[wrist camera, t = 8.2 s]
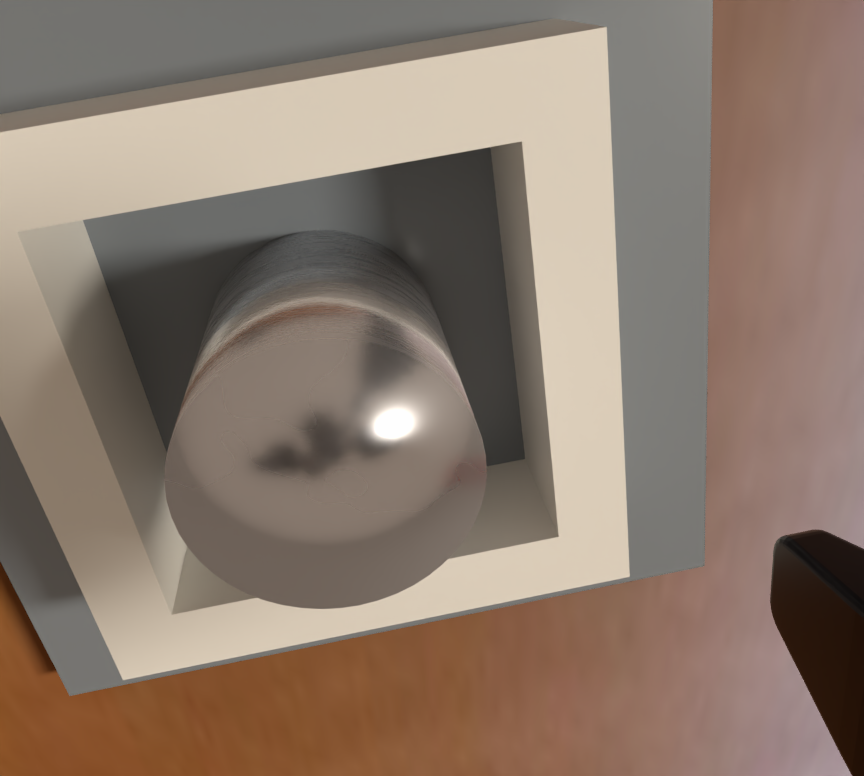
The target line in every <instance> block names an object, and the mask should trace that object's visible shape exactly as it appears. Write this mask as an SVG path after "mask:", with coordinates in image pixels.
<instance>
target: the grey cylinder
mask: <svg viewBox="0 0 864 776" xmlns="http://www.w3.org/2000/svg"><path fill="white" fill-rule="evenodd" d="M486 477H487V465H486V453H485V449H484V444H483V439H482V436H481V433H480V431H479V428H478V425H477V422H476V420H475V417H474V414H473V412H472V409H471V406H470V403H469V401H468V398H467V395H466V393H465V390H464V387H463V384H462V382H461V379H460V376H459V374H458V371H457V368H456V365H455V363H454V360H453V357H452V355H451V352H450V349H449V346H448V344H447V341H446V338H445V336H444V333H443V330H442V327H441V325H440V322H439V319H438V316H437V314H436V311H435V308H434V306H433V303H432V300H431V298H430V295H429V293H428V291H427V289H426V288H425V286H424V284H423V282H422V281H421V279H420V278H419V277H418V275H417V274H416V273H415V271H414V270H413V269H412V268H411V267H410V266H409V265H408V264H407V263H406V262H405V261H404V260H403V259H402V258H401V257H399V256H398V255H397V254H395V253H394V252H393V251H391V250H390V249H388V248H386V247H385V246H383V245H381V244H380V243H378V242H375V241H373V240H371V239H368V238H366V237H364V236H360V235H356V234H353V233H349V232H343V231H336V230H311V231H302V232H297V233H293V234H289V235H285V236H283V237H280V238H278V239H275V240H273V241H270V242H268V243H267V244H265V245H263V246H261V247H259V248H258V249H256V250H255V251H253V252H252V253H251V254H249V255H248V256H247V257H245V258H244V259H243V260H242V261H241V262H240V263H239V264H238V265H237V266H236V267H235V268H234V269H233V271H232V272H231V273H230V274H229V276H228V277H227V278H226V280H225V281H224V283H223V285H222V287H221V289H220V290H219V292H218V294H217V297H216V300H215V302H214V305H213V308H212V311H211V314H210V317H209V320H208V323H207V327H206V330H205V333H204V336H203V339H202V342H201V345H200V349H199V352H198V355H197V358H196V361H195V364H194V367H193V371H192V374H191V377H190V380H189V383H188V386H187V390H186V393H185V396H184V399H183V402H182V405H181V408H180V412H179V415H178V418H177V421H176V424H175V427H174V430H173V434H172V437H171V440H170V443H169V447H168V452H167V456H166V461H165V475H164V484H165V493H166V500H167V504H168V507H169V511H170V514H171V518H172V520H173V522H174V524H175V526H176V529H177V531H178V533H179V535H180V536H181V538H182V539H183V541H184V542H185V544H186V545H187V547H188V548H189V550H190V551H191V552H192V553H193V554H194V555H195V556H196V558H197V559H198V560H199V561H200V562H201V563H202V564H203V565H204V566H205V567H207V568H208V569H209V570H210V571H211V572H212V573H213V574H215V575H216V576H217V577H219V578H220V579H222V580H223V581H225V582H226V583H228V584H229V585H231V586H233V587H235V588H237V589H239V590H241V591H243V592H245V593H246V594H249V595H252V596H254V597H257V598H260V599H262V600H265V601H269V602H273V603H276V604H280V605H285V606H291V607H298V608H309V609H334V608H345V607H351V606H358V605H363V604H367V603H370V602H374V601H378V600H381V599H384V598H386V597H389V596H392V595H394V594H397V593H399V592H401V591H403V590H405V589H407V588H409V587H411V586H413V585H415V584H416V583H418V582H419V581H421V580H423V579H424V578H426V577H427V576H429V575H430V574H431V573H433V572H434V571H435V570H436V569H437V568H439V567H440V566H441V565H442V564H444V562H445V561H446V560H447V559H448V558H449V557H450V556H451V555H452V554H453V553H454V552H455V551H456V550H457V549H458V547H459V546H460V545H461V543H462V542H463V541H464V539H465V538H466V537H467V535H468V533H469V531H470V530H471V528H472V526H473V524H474V523H475V520H476V518H477V515H478V513H479V510H480V508H481V505H482V501H483V497H484V493H485V488H486Z"/></svg>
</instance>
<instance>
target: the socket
mask: <svg viewBox="0 0 864 776" xmlns="http://www.w3.org/2000/svg"><path fill="white" fill-rule="evenodd" d="M712 26H713V0H0V562H1V564H2V566H3V567H4V569H5V571H6V573H7V575H8V577H9V579H10V581H11V583H12V585H13V587H14V589H15V591H16V593H17V595H18V597H19V598H20V600H21V602H22V604H23V606H24V608H25V610H26V612H27V614H28V616H29V618H30V620H31V622H32V624H33V626H34V628H35V630H36V631H37V633H38V635H39V637H40V639H41V641H42V643H43V645H44V647H45V649H46V651H47V653H48V655H49V657H50V659H51V661H52V662H53V664H54V666H55V668H56V670H57V672H58V674H59V676H60V678H61V680H62V682H63V684H64V686H65V688H66V690H67V692H68V693H69V695H70V696H71V695H76V694H81V693H86V692H91V691H96V690H101V689H106V688H111V687H115V686H120V685H125V684H130V683H135V682H140V681H145V680H150V679H155V678H159V677H164V676H169V675H174V674H179V673H184V672H189V671H194V670H199V669H203V668H208V667H213V666H218V665H223V664H228V663H233V662H238V661H243V660H247V659H252V658H257V657H262V656H267V655H272V654H277V653H282V652H287V651H291V650H296V649H301V648H306V647H311V646H316V645H321V644H326V643H331V642H335V641H340V640H345V639H350V638H355V637H360V636H365V635H370V634H375V633H379V632H384V631H389V630H394V629H399V628H404V627H409V626H414V625H419V624H423V623H428V622H433V621H438V620H443V619H448V618H453V617H458V616H463V615H467V614H472V613H477V612H482V611H487V610H492V609H497V608H502V607H507V606H511V605H516V604H521V603H526V602H531V601H536V600H541V599H546V598H551V597H555V596H560V595H565V594H570V593H575V592H580V591H585V590H590V589H595V588H599V587H604V586H609V585H614V584H619V583H624V582H629V581H634V580H639V579H643V578H648V577H653V576H658V575H663V574H668V573H673V572H678V571H683V570H687V569H692V568H697V567H702V566H704V561H705V494H706V427H707V360H708V293H709V226H710V159H711V93H712ZM311 230H336V231H343V232H349V233H353V234H356V235H360V236H364V237H366V238H368V239H371V240H373V241H375V242H378V243H380V244H381V245H383V246H385V247H386V248H388V249H390V250H391V251H393V252H394V253H395V254H397V255H398V256H399V257H401V258H402V259H403V260H404V261H405V262H406V263H407V264H408V265H409V266H410V267H411V268H412V269H413V270H414V271H415V273H416V274H417V275H418V277H419V278H420V279H421V281H422V282H423V284H424V286H425V288H426V289H427V291H428V293H429V295H430V298H431V300H432V303H433V306H434V308H435V311H436V314H437V316H438V319H439V322H440V325H441V327H442V330H443V333H444V336H445V338H446V341H447V344H448V346H449V349H450V352H451V355H452V357H453V360H454V363H455V365H456V368H457V371H458V374H459V376H460V379H461V382H462V384H463V387H464V390H465V393H466V395H467V398H468V401H469V403H470V406H471V409H472V412H473V414H474V417H475V420H476V422H477V425H478V428H479V431H480V433H481V436H482V439H483V444H484V449H485V453H486V465H487V477H486V488H485V493H484V497H483V501H482V505H481V508H480V510H479V513H478V515H477V518H476V520H475V523H474V524H473V526H472V528H471V530H470V531H469V533H468V535H467V537H466V538H465V539H464V541H463V542H462V543H461V545H460V546H459V547H458V549H457V550H456V551H455V552H454V553H453V554H452V555H451V556H450V557H449V558H448V559H447V560H446V561H445V562H444V564H442V565H441V566H440V567H439V568H437V569H436V570H435V571H434V572H433V573H431V574H430V575H429V576H427V577H426V578H424V579H423V580H421V581H419V582H418V583H416V584H415V585H413V586H411V587H409V588H407V589H405V590H403V591H401V592H399V593H397V594H394V595H392V596H389V597H386V598H384V599H381V600H378V601H374V602H370V603H367V604H363V605H358V606H351V607H345V608H334V609H309V608H298V607H291V606H285V605H280V604H276V603H273V602H269V601H265V600H262V599H260V598H257V597H254V596H252V595H249V594H246V593H245V592H243V591H241V590H239V589H237V588H235V587H233V586H231V585H229V584H228V583H226V582H225V581H223V580H222V579H220V578H219V577H217V576H216V575H215V574H213V573H212V572H211V571H210V570H209V569H208V568H207V567H205V566H204V565H203V564H202V563H201V562H200V561H199V560H198V559H197V558H196V556H195V555H194V554H193V553H192V552H191V551H190V550H189V548H188V547H187V545H186V544H185V542H184V541H183V539H182V538H181V536H180V535H179V533H178V531H177V529H176V526H175V524H174V522H173V520H172V518H171V514H170V511H169V507H168V504H167V500H166V493H165V484H164V475H165V461H166V456H167V452H168V447H169V443H170V440H171V437H172V434H173V430H174V427H175V424H176V421H177V418H178V415H179V412H180V408H181V405H182V402H183V399H184V396H185V393H186V390H187V386H188V383H189V380H190V377H191V374H192V371H193V367H194V364H195V361H196V358H197V355H198V352H199V349H200V345H201V342H202V339H203V336H204V333H205V330H206V327H207V323H208V320H209V317H210V314H211V311H212V308H213V305H214V302H215V300H216V297H217V294H218V292H219V290H220V289H221V287H222V285H223V283H224V281H225V280H226V278H227V277H228V276H229V274H230V273H231V272H232V271H233V269H234V268H235V267H236V266H237V265H238V264H239V263H240V262H241V261H242V260H243V259H244V258H245V257H247V256H248V255H249V254H251V253H252V252H253V251H255V250H256V249H258V248H259V247H261V246H263V245H265V244H267V243H268V242H270V241H273V240H275V239H278V238H280V237H283V236H285V235H289V234H293V233H297V232H302V231H311Z"/></svg>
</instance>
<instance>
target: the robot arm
mask: <svg viewBox="0 0 864 776" xmlns="http://www.w3.org/2000/svg"><path fill="white" fill-rule="evenodd" d="M770 603H771V610H772V615H773V618H774V621H775V624H776V626H777V628H778V630H779V632H780V634H781V636H782V638H783V640H784V642H785V644H786V646H787V648H788V650H789V652H790V654H791V656H792V658H793V660H794V662H795V664H796V666H797V668H798V670H799V672H800V674H801V676H802V678H803V680H804V682H805V684H806V686H807V688H808V690H809V692H810V694H811V696H812V698H813V700H814V702H815V704H816V706H817V708H818V710H819V712H820V714H821V716H822V718H823V720H824V722H825V724H826V726H827V728H828V730H829V732H830V734H831V736H832V738H833V740H834V742H835V744H836V746H837V748H838V750H839V752H840V754H841V756H842V757H843V759H844V761H845V763H846V765H847V767H848V769H849V771H850V773H851V774H852V776H864V549H863V548H861V547H858V546H856V545H854V544H852V543H850V542H848V541H846V540H843V539H841V538H839V537H837V536H835V535H833V534H831V533H828V532H826V531H823V530H809V531H805V532H800V533H795V534H790V535H785V536H782V537H781V538H779V539H778V540H777V541H776V543H775V546H774V551H773V566H772V581H771V597H770Z"/></svg>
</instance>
